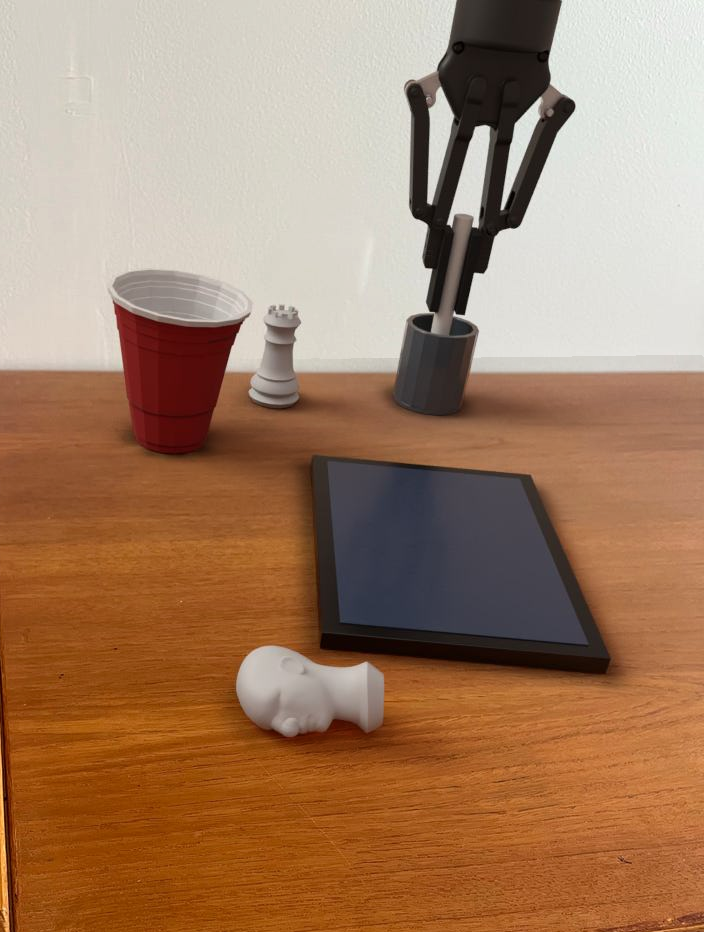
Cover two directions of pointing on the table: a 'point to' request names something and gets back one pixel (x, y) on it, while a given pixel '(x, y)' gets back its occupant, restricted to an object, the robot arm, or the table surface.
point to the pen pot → (434, 365)
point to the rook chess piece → (277, 361)
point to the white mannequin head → (307, 692)
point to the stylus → (453, 274)
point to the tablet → (445, 567)
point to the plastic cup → (174, 351)
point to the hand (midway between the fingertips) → (445, 308)
